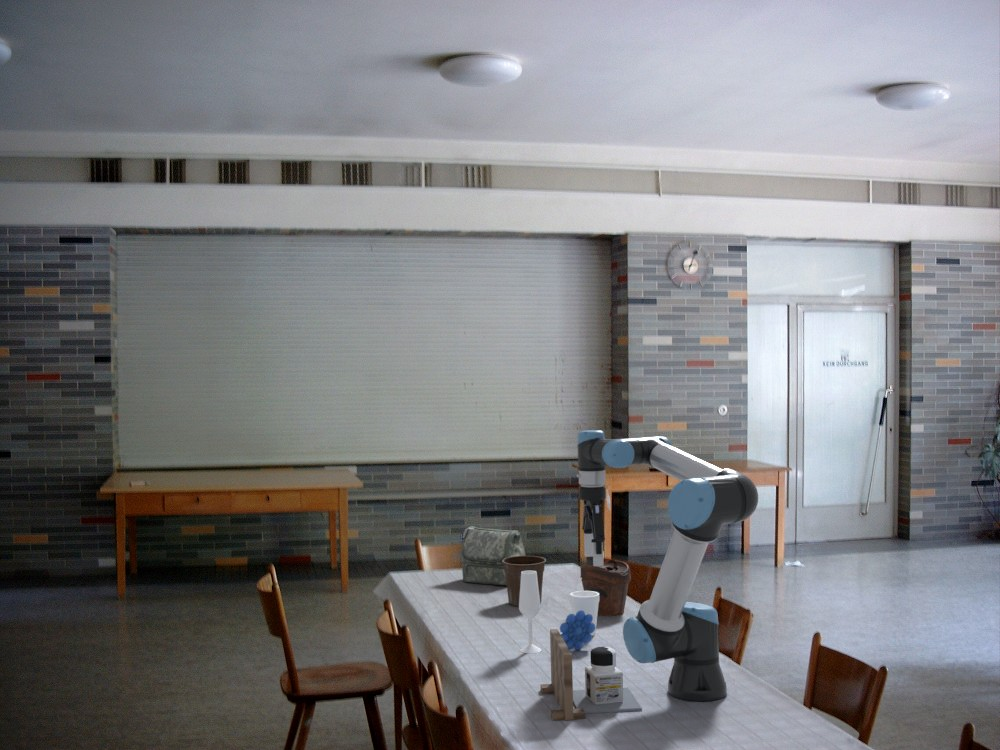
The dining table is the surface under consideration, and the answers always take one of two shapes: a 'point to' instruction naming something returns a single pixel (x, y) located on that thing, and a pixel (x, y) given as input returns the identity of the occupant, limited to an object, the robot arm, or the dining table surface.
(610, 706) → the mat
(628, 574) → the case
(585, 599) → the foam cup
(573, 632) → the grapes
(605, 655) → the container
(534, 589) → the champagne flute
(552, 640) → the screen
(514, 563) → the plant pot
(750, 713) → the dining table surface
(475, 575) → the lunch bag
